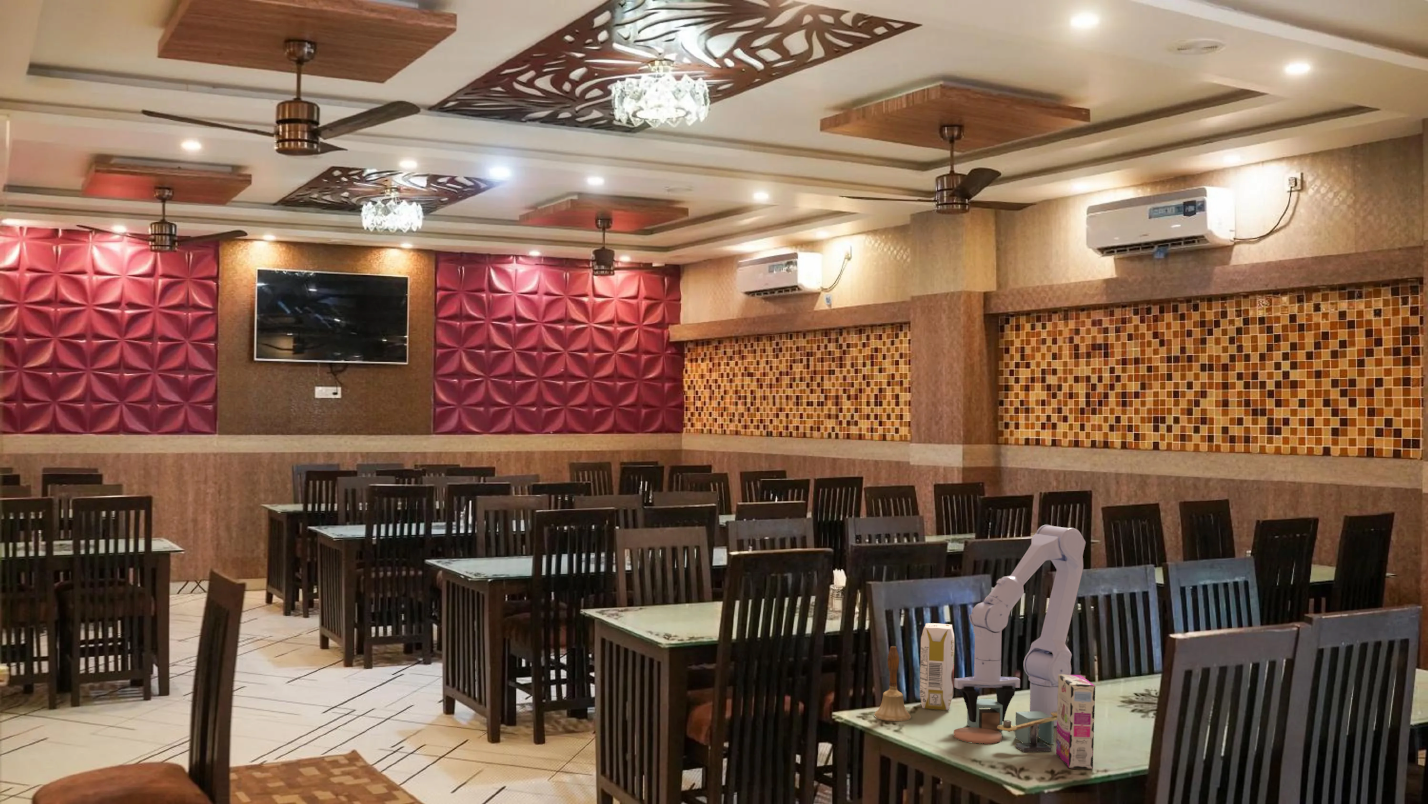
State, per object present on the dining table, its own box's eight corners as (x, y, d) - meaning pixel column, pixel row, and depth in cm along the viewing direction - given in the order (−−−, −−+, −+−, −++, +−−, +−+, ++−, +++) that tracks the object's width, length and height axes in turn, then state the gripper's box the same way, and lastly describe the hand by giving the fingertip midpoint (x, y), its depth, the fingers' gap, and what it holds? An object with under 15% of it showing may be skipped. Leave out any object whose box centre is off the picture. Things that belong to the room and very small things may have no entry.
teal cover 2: (1040, 737, 268) (1041, 711, 268) (1053, 744, 262) (1053, 717, 262) (1015, 737, 267) (1015, 711, 267) (1027, 745, 261) (1028, 718, 261)
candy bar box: (1094, 769, 243) (1096, 685, 244) (1069, 769, 243) (1070, 684, 244) (1080, 754, 254) (1081, 673, 255) (1055, 753, 255) (1056, 672, 255)
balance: (1064, 745, 262) (1065, 710, 262) (1073, 750, 258) (1074, 715, 258) (993, 747, 258) (994, 712, 259) (1001, 752, 255) (1002, 717, 255)
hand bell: (910, 722, 279) (911, 650, 279) (872, 719, 280) (874, 648, 281) (911, 713, 287) (913, 644, 287) (875, 711, 288) (876, 642, 289)
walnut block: (993, 726, 277) (993, 708, 277) (999, 731, 273) (999, 712, 273) (975, 726, 276) (975, 708, 276) (981, 731, 272) (982, 713, 272)
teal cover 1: (992, 723, 279) (992, 698, 279) (1002, 730, 273) (1002, 704, 273) (967, 724, 278) (967, 698, 278) (976, 731, 272) (977, 705, 272)
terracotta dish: (990, 731, 272) (990, 726, 272) (1009, 742, 262) (1009, 738, 262) (946, 732, 270) (946, 727, 270) (964, 744, 260) (964, 739, 260)
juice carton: (918, 709, 292) (920, 627, 292) (921, 701, 300) (923, 621, 300) (951, 711, 290) (953, 629, 290) (953, 703, 298) (955, 623, 299)
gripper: (1010, 654, 280) (1009, 715, 279) (949, 655, 277) (948, 716, 277) (1024, 660, 273) (1023, 723, 273) (961, 661, 270) (960, 724, 270)
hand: (986, 720), depth 274 cm, fingers closed on teal cover 1, 6 cm apart
